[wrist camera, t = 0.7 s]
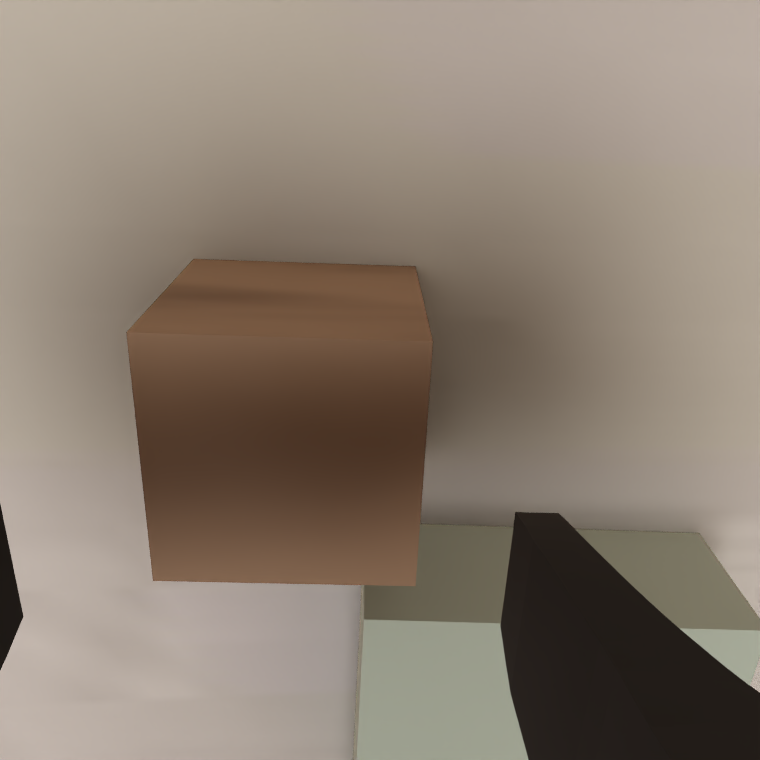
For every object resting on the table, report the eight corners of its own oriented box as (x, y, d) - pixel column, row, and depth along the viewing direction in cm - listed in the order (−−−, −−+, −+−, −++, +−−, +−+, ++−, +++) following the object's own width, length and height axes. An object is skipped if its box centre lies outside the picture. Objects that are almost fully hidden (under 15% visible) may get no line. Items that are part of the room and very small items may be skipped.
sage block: (632, 759, 23) (681, 889, 20) (352, 753, 23) (350, 884, 19) (693, 525, 20) (768, 630, 16) (364, 515, 19) (363, 619, 16)
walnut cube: (403, 457, 18) (415, 586, 14) (206, 452, 18) (152, 580, 14) (415, 265, 16) (432, 341, 12) (194, 258, 16) (126, 332, 12)
